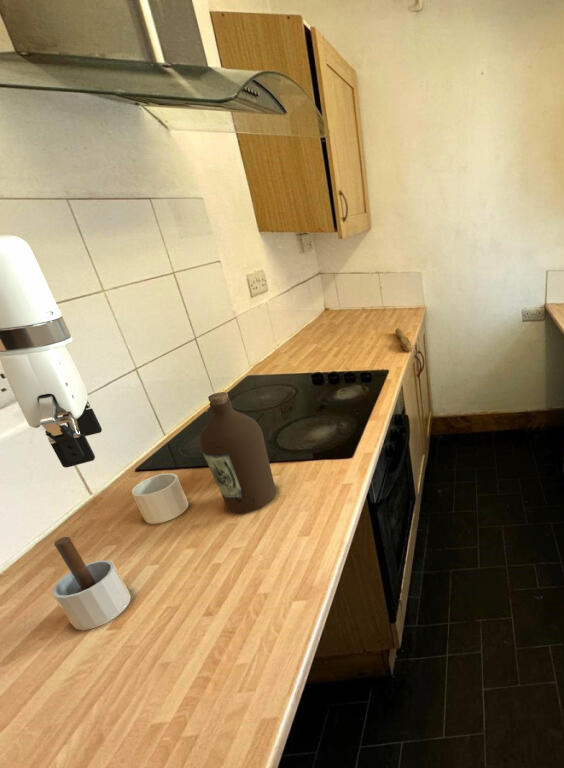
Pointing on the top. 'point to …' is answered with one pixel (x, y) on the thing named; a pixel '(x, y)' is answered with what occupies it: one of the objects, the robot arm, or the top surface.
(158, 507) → the white cup
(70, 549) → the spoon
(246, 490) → the olive oil
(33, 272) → the robot arm
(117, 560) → the top surface
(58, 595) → the white mortar
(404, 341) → the rough brown stick
